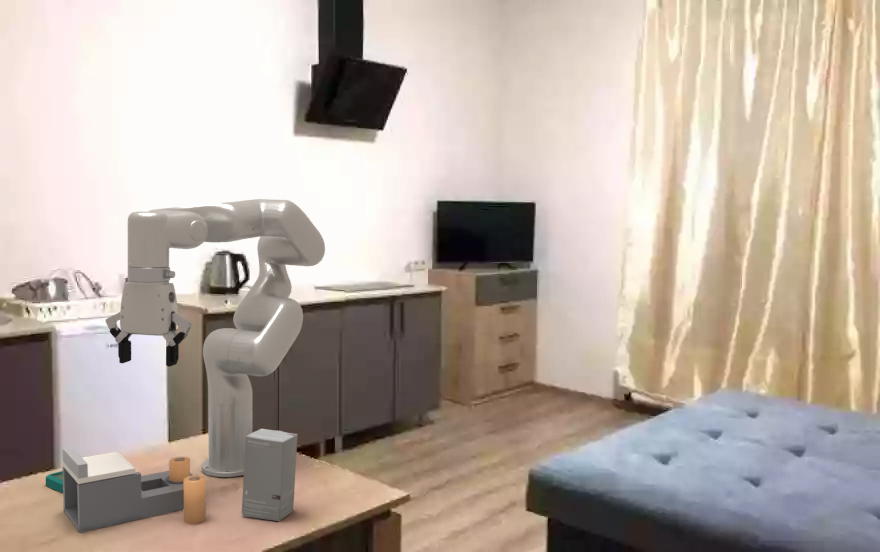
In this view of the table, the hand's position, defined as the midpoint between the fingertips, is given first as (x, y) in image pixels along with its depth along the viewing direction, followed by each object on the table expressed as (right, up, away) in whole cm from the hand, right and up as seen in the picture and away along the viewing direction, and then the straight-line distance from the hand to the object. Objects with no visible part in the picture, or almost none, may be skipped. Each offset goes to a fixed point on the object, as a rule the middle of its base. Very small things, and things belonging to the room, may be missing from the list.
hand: (148, 363), depth 157 cm
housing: (-3, -28, +1) cm, 28 cm away
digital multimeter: (-19, -27, +15) cm, 36 cm away
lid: (-8, -20, -4) cm, 22 cm away
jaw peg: (+10, -29, -4) cm, 31 cm away
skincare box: (+24, -29, 0) cm, 38 cm away
